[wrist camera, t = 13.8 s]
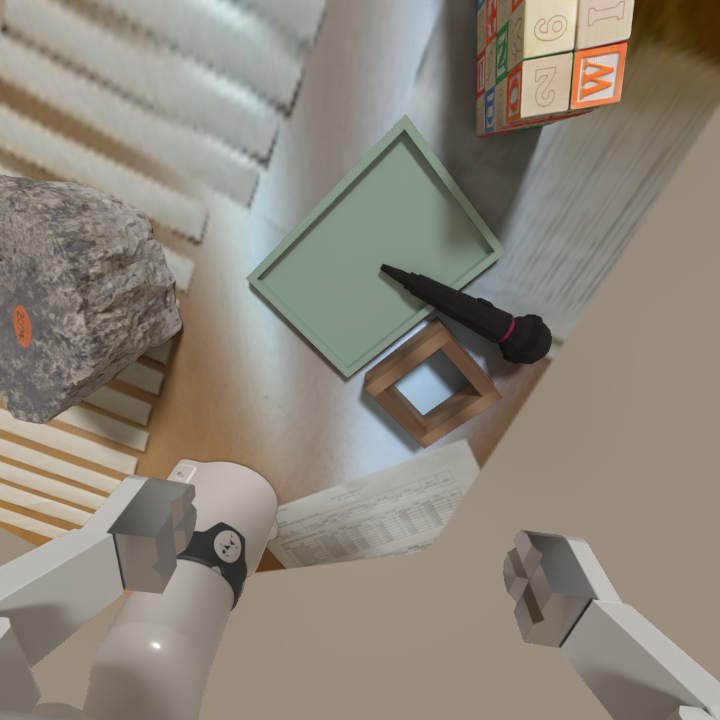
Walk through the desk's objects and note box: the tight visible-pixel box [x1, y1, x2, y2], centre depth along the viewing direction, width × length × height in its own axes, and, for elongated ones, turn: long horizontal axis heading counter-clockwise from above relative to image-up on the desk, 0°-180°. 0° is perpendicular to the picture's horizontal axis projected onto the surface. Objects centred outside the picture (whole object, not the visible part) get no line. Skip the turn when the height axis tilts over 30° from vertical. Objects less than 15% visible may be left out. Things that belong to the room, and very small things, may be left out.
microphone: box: [380, 264, 552, 364], centre depth 40 cm, size 6×6×20 cm
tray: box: [246, 114, 506, 378], centre depth 40 cm, size 22×16×2 cm
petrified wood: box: [0, 175, 182, 424], centre depth 36 cm, size 19×17×15 cm
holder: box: [365, 317, 502, 448], centre depth 44 cm, size 11×11×4 cm
